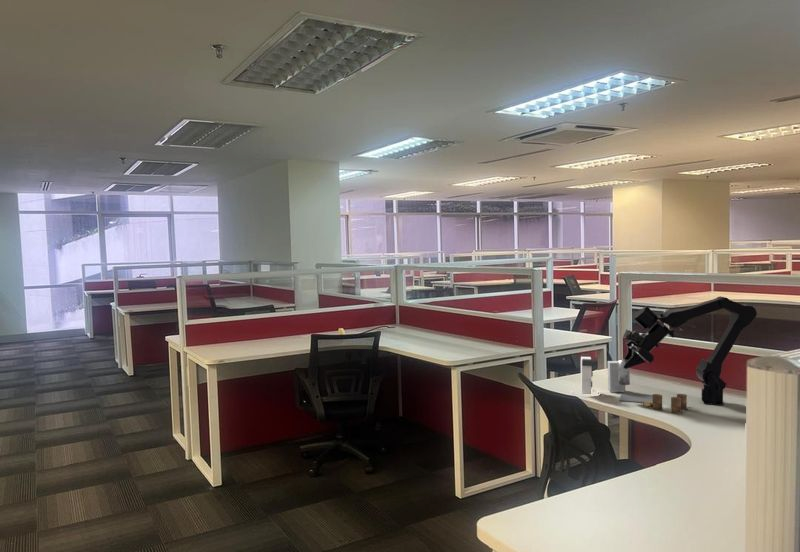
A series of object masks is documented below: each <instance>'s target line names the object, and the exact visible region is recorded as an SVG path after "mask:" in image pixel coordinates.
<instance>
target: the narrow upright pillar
mask: <svg viewBox="0 0 800 552" xmlns="http://www.w3.org/2000/svg"><path fill="white" fill-rule="evenodd" d="M592 361H593V359H592V357H591V354H588V353H587V354H586V353H582V354H580V389H581V390H582V394H591V390H594V389H592V388H593V381H592V377H593V374H594V373H593V365H592ZM571 392H572V390H571V391H570V393H571ZM594 392H598V394H599V393H601V392H600V391H598V390H594Z"/></svg>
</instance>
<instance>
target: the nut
mask: <svg viewBox="0 0 800 552" xmlns="http://www.w3.org/2000/svg"><path fill="white" fill-rule="evenodd" d="M642 407H645V408H653V401H643V403H642Z"/></svg>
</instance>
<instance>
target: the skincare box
mask: <svg viewBox="0 0 800 552" xmlns="http://www.w3.org/2000/svg"><path fill="white" fill-rule="evenodd" d="M607 391H609V392H610V393H621V392H625V393H626V385H620V384H619V376H618V360H607Z"/></svg>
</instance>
